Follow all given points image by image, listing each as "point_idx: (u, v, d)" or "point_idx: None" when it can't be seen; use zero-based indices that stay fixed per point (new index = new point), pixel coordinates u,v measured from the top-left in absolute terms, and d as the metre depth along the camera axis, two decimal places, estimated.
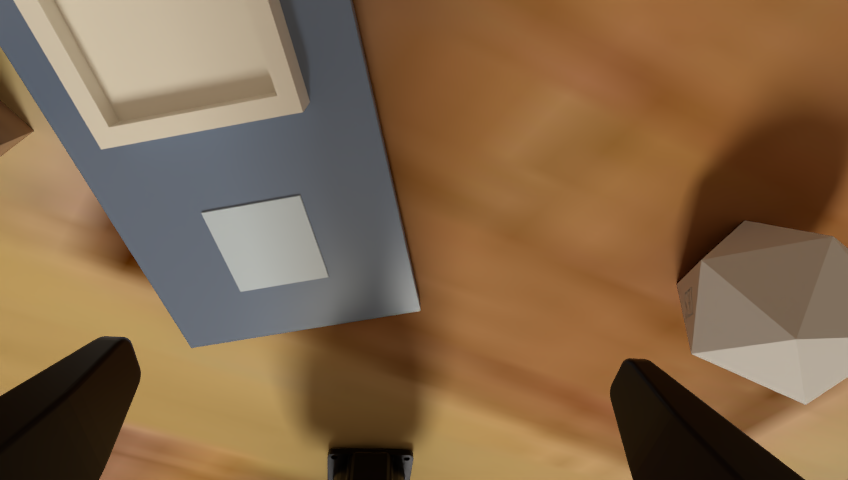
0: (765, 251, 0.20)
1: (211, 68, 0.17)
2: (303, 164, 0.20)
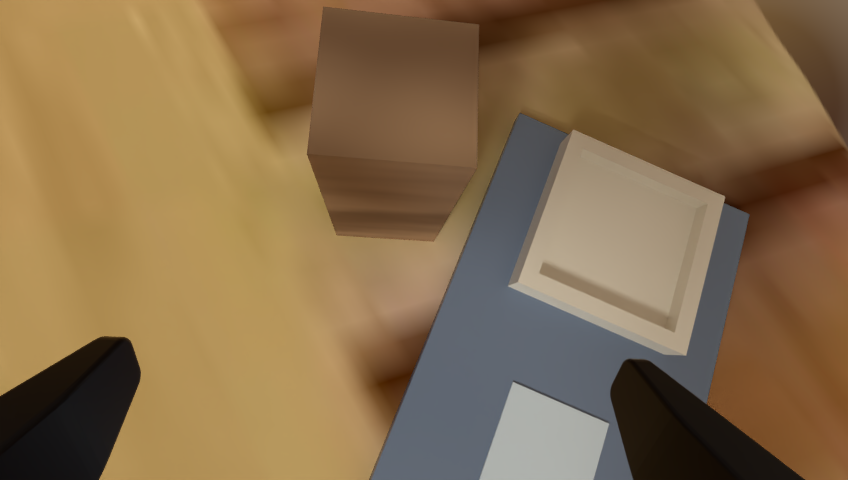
0: None
1: (625, 288, 0.22)
2: None
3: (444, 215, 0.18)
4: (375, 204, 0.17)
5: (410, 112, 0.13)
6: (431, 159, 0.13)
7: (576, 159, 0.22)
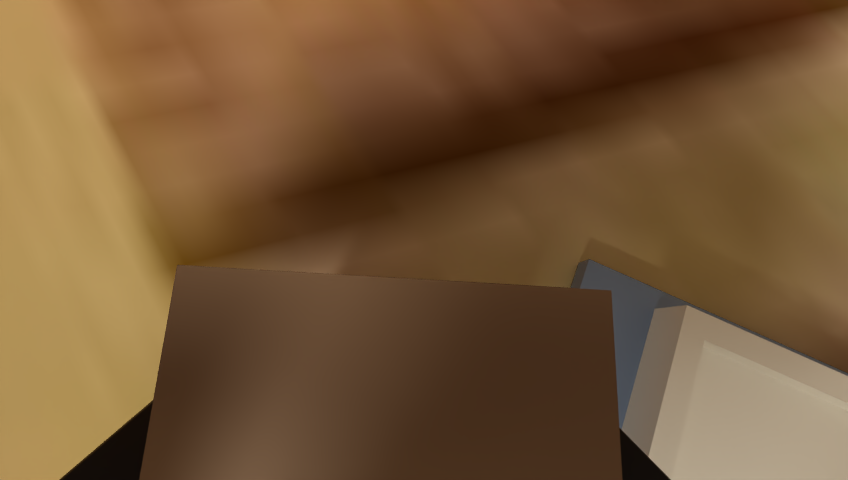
0: None
1: None
2: None
3: None
4: None
5: None
6: None
7: (695, 361, 0.13)
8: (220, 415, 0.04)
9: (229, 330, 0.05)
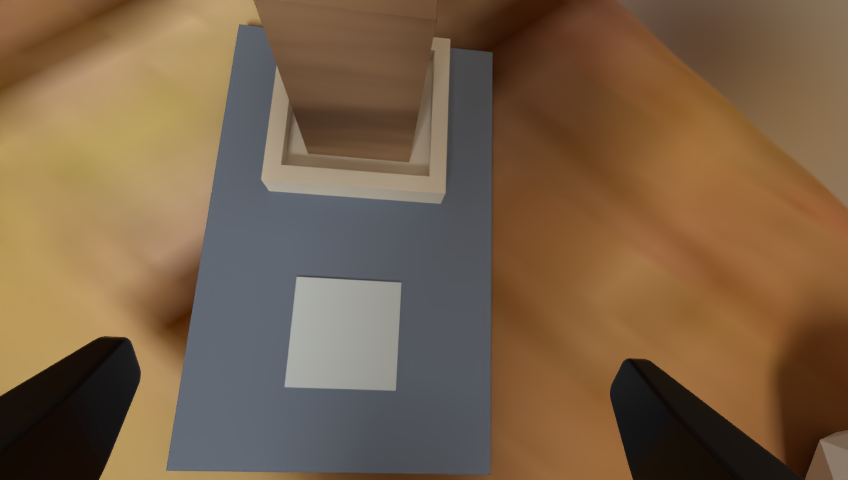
0: None
1: None
2: (415, 254, 0.22)
3: (414, 113, 0.17)
4: (339, 94, 0.16)
5: None
6: (387, 9, 0.12)
7: None
8: None
9: None
